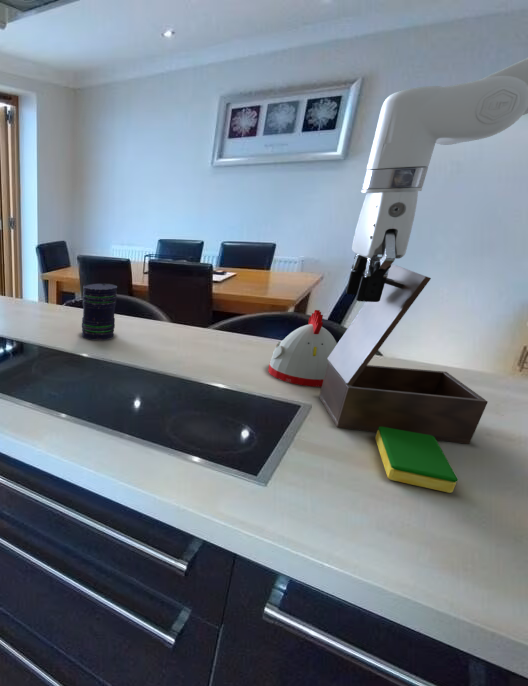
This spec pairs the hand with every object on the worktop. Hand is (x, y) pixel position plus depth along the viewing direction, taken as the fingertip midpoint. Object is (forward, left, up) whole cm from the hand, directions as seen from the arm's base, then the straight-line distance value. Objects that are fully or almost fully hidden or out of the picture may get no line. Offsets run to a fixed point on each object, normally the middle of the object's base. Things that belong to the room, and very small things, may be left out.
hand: (361, 296), depth 76 cm
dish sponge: (-7, +16, -22) cm, 29 cm away
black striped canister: (+52, -38, -22) cm, 68 cm away
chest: (-9, 0, -22) cm, 24 cm away
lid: (-3, 0, -5) cm, 6 cm away
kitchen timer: (+1, -20, -22) cm, 30 cm away
